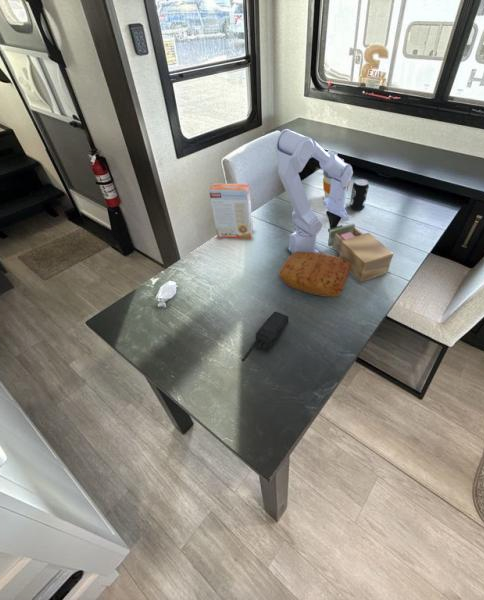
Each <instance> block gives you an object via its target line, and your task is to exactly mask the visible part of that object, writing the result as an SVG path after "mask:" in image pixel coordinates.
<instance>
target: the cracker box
mask: <svg viewBox="0 0 484 600" xmlns="http://www.w3.org/2000/svg"><path fill="white" fill-rule="evenodd" d="M208 192H209V197H210V205H211V209H212V215H213V220H214V226H215V231H216V236H217V239H238V240H239V239H242V240H251V239H252V237H253V233H254V225H253V215H252V214H253V213H252V204H251V203H252V202H251V194H250V193H251V192H250V183H217V182H216V183H214V182H213V183H211V186H210V188H209V190H208Z"/></svg>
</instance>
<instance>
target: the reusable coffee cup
mask: <svg viewBox="0 0 484 600" xmlns="http://www.w3.org/2000/svg"><path fill="white" fill-rule="evenodd" d="M344 163H346V164H348V165H350V166H351V168H352V169H353V166H352V165H351V164H350V163H347V162H345V161H344ZM322 174H323V175H322V176H323V178H322V186H323V187H322V188H323V192H324V193H323V194H324V199H327V198H328V199H329V196H330V187H331V179H332V177H331V176H329V175H328V173H327V172H326V171H324V170H323V172H322ZM350 183H351V180H350V181H349V184H348V186H347V190H346V193H347V192H348V191H349V187H350Z"/></svg>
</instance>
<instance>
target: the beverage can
mask: <svg viewBox="0 0 484 600" xmlns="http://www.w3.org/2000/svg"><path fill="white" fill-rule="evenodd" d="M369 186H370V185H369V181H368V180H367V179H366V178H365V179H364V178H357V179H354V182H353V184H352V190H351V194H350V201H349V208H350V209H351V210H352V211H355V212H356V211H362V210H363V209H365V206H366V202H367V196H368V192H369V188H370V187H369Z"/></svg>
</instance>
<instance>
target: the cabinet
mask: <svg viewBox="0 0 484 600" xmlns="http://www.w3.org/2000/svg"><path fill="white" fill-rule="evenodd" d="M393 257H394V252H393V251H391V250H390V249H389V248H388V247H387V246H385V244H383V243H382V242H381V241H379V240H378V239H377V238H376V237H375V236H374V235H373V234H372V233H370V232H366V233H362V235H359V236H356V237H352V238H349V239H346V240H343V241H341V246H340V253H338V258H342V259H344V260H346V261H348V262H350V263H351V267H350V271H349V274H351V275H352V276H353V277H354V279H356V280H357V281H358V282H359V283H362V282H365V281H368V280H371V279H373V278H377V277H380V276H382V275H384V274H388V272H389V269H390V266H391V263H392V259H393Z"/></svg>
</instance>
